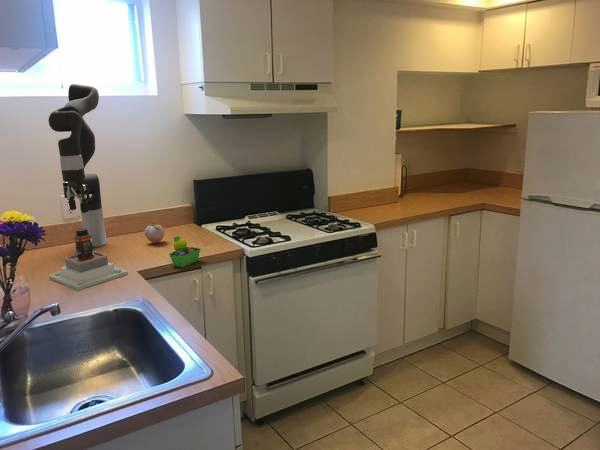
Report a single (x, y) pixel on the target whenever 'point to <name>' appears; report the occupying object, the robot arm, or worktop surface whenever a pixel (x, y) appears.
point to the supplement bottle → (84, 244)
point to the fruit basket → (183, 253)
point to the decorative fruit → (154, 233)
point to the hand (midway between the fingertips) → (79, 211)
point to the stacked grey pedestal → (87, 271)
